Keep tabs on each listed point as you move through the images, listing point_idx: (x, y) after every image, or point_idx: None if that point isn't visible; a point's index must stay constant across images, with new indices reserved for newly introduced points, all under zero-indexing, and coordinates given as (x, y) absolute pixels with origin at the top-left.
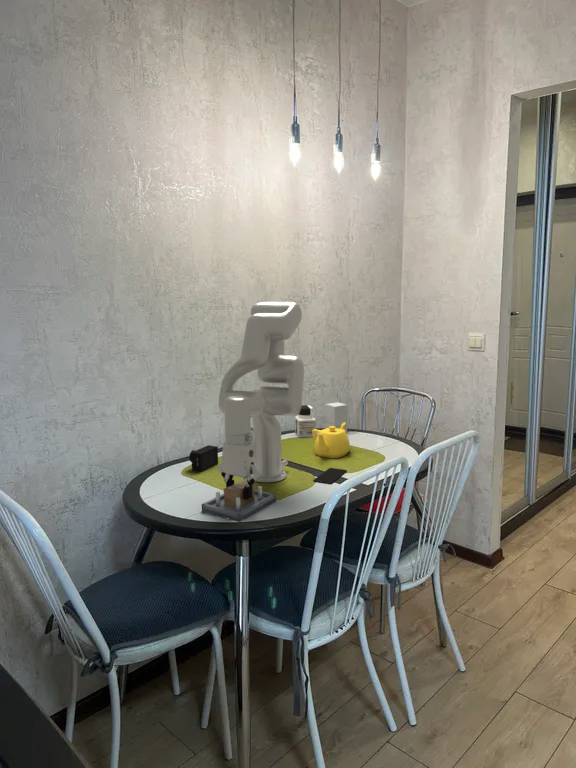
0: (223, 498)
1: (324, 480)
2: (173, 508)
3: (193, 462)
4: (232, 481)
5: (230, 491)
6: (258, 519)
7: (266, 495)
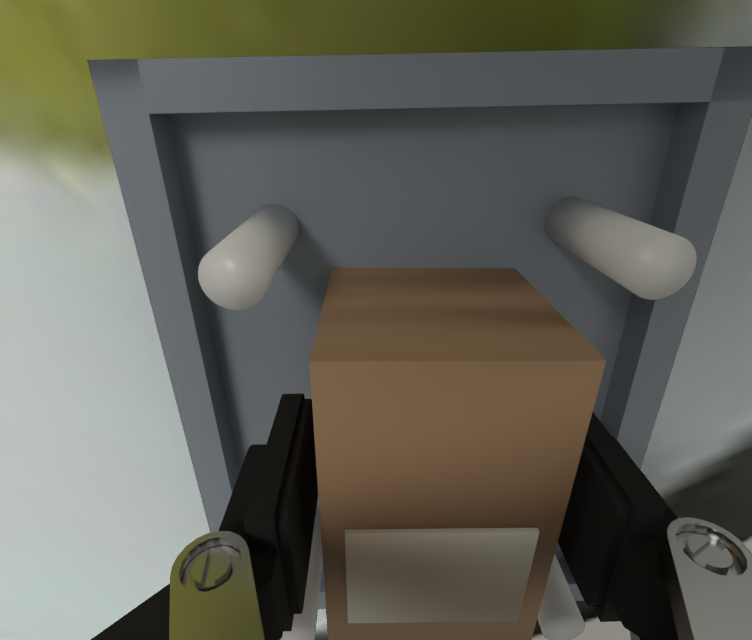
0: (226, 406)
1: None
2: (63, 604)
3: None
4: (289, 551)
5: (429, 629)
6: (682, 467)
7: (617, 105)
